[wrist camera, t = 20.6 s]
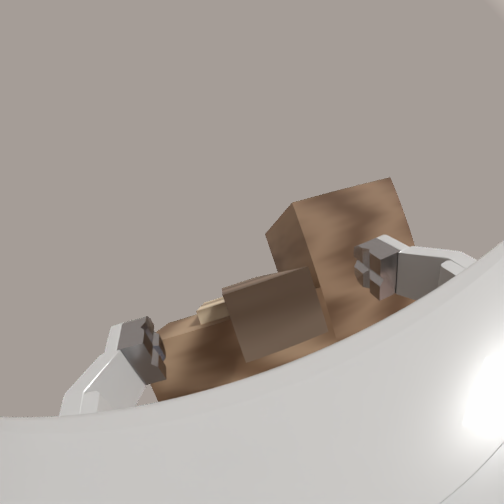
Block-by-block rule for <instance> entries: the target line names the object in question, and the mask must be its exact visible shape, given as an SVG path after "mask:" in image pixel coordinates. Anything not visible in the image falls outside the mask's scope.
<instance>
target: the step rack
mask: <svg viewBox="0 0 504 504" xmlns="http://www.w3.org/2000/svg"><path fill="white" fill-rule="evenodd" d="M265 235H266V238H267V241H268V244H269V247H270V250H271V253H272V256H273V259H274V262H275V265H276V268H277V271H278V273H279V272H283V271H288V270H293V269H297V268H302V267H306V266H308V267H309V270H310V273H311V277H312V280H313V283H314V286H315V289H316V292H317V295H318V299H319V302H320V305H321V308H322V312H323V315H324V318H325V322H326V325H327V328H328V332H326V333H324V334H322V335H319V336H317V337H314V338H312V339H310V340H307V341H305V342H302V343H300V344H297V345H294V346H292V347H289V348H287V349H284V350H281V351H279V352H276V353H273V354H270V355H268V356H265V357H262V358H259V359H256V360H253V361H250V362H247V363H246V361H245V358H244V356H243V353H242V350H241V347H240V344H239V342H238V339H237V336H236V333H235V330H234V327H233V325H232V322H231V319H230V316H227V317H224V318H221V319H218V320H214V321H211V322H208V323H205V324H202V325H201V323H200V321H199V318H198V315H194V316H190V317H187V318H184V319H180V320H177V321H174V322H170V323H168V324H167V325H166V326H164V327H163V328H161V329H160V330H158V331H157V332H156V333H158V334H159V335H160V337H161V339H162V341H163V344H164V347H165V351H166V358H165V360H164V361H163V362H164V364H165V365H166V378H167V380H163V381H159V382H156V383H152V384H151V386H152V389H153V391H154V393H155V395H156V397H157V400H158V402H160V401H165V400H169V399H173V398H178V397H182V396H186V395H190V394H194V393H197V392H201V391H205V390H208V389H212V388H215V387H219V386H222V385H225V384H229V383H232V382H235V381H238V380H241V379H244V378H247V377H250V376H253V375H256V374H259V373H262V372H265V371H268V370H270V369H273V368H276V367H279V366H281V365H284V364H286V363H289V362H292V361H294V360H297V359H299V358H302V357H304V356H307V355H309V354H311V353H314V352H316V351H318V350H321V349H323V348H325V347H328V346H330V345H332V344H334V343H336V342H339V341H341V340H343V339H345V338H347V337H349V336H351V335H353V334H355V333H357V332H359V331H362V330H364V329H366V328H368V327H369V326H371V325H373V324H375V323H377V322H379V321H381V320H383V319H385V318H387V317H389V316H390V315H392V314H394V313H396V312H398V311H399V310H401V309H403V308H405V307H406V306H408V305H410V304H412V303H413V302H415V301H416V300H413V299H410V298H407V297H404V296H401V295H398V294H396V293H395V294H393V295H391V296H389V297H387V298H384V299H382V300H380V301H379V300H378V299H377V298H375V297H374V296H373V295H372V294H371V293H370V288H365V287H362V286H361V285H360V284H359V282H358V281H357V279H356V276H355V272H354V266H355V264H356V261H357V260H356V259H355V258H354V254H353V251H354V247H355V246H357V245H360V244H362V243H365V242H367V241H370V240H372V239H374V238H377V237H379V236H381V235H388V236H390V237H392V238H394V239H396V240H398V241H399V242H401V243H403V244H405V245H407V246H409V247H411V246H415V245H414V242H413V238H412V235H411V232H410V229H409V226H408V223H407V220H406V217H405V214H404V212H403V209H402V206H401V203H400V201H399V198H398V195H397V193H396V190H395V188H394V185H393V183H392V181H391V178H386V179H382V180H377V181H373V182H370V183H365V184H362V185H357V186H353V187H350V188H345V189H341V190H337V191H334V192H330V193H326V194H322V195H319V196H315V197H311V198H307V199H304V200H300V201H296V202H293V203H291V205H290V206H289V207H288V208H287V209H286V210H285V212H284V213H283V214H282V215H281V216H280V217H279V219H278V220H277V221H276V222H275V223H274V224H273V226H272V227H271V228H270V229H269V230H268V231H267V233H266V234H265Z"/></svg>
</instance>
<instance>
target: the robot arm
mask: <svg viewBox="0 0 504 504" xmlns="http://www.w3.org/2000/svg"><path fill="white" fill-rule="evenodd" d="M353 254H354V258H355V259H356V260H357V261H356V264H355V266H354V272H355V276H356V279H357V281H358V282H359V284H360V285H361V286H362V287H365V288H370V293H371V294H372V295H373V296H374V297H375V298H377V299H378V300H379V301H380V300H382V299H384V298H387V297H389V296H391V295H393V294H395V293H396V294H398V295H401V296H404V297H407V298H410V299H413V300H416V301H415V302H413V303H412V304H410V305H408V306H406V307H405V308H403V309H401V310H399V311H398V312H396V313H394V314H392V315H390V316H389V317H387V318H385V319H383V320H381V321H379V322H377V323H375V324H373V325H371V326H369V327H368V328H366V329H364V330H362V331H359V332H357V333H355V334H353V335H351V336H349V337H347V338H345V339H343V340H341V341H339V342H336V343H334V344H332V345H330V346H328V347H325V348H323V349H321V350H318V351H316V352H314V353H311V354H309V355H307V356H304V357H302V358H299V359H297V360H294V361H292V362H289V363H286V364H284V365H281V366H279V367H276V368H273V369H270V370H268V371H265V372H262V373H259V374H256V375H253V376H250V377H247V378H244V379H241V380H238V381H235V382H232V383H229V384H225V385H222V386H219V387H215V388H212V389H208V390H205V391H201V392H197V393H194V394H190V395H186V396H182V397H178V398H173V399H169V400H165V401H160V402H156V403H151V404H146V405H141V406H136V404H137V402H138V400H139V398H140V396H141V394H142V393H143V391H144V389H145V387H146V385H148V384H152V383H156V382H159V381H163V380H167V378H166V365H165V364H164V362H163V361H164V360H165V358H166V351H165V347H164V344H163V341H162V339H161V337H160V335H159V334H158V333H156V332H154V325H153V323H152V321H151V319H150V318H149V317H148V316H146V317H143V318H139V319H135V320H132V321H128V322H124V323H120V324H117V325H114V326H112V327H111V329H110V332H109V336H108V340H107V344H106V348H105V352H104V354H101V355H100V356H99V357H98V358H97V359H96V360H95V361H94V363H92V364H91V366H90V367H89V368H88V369H87V370H86V371H85V372H84V373H83V374H82V376H81V377H80V378H79V379H78V380H77V381H76V382H75V383H74V384H73V386H72V387H71V388H70V389H69V390H68V391H67V392H66V394H65V395H64V398H63V402H62V406H61V410H60V414H59V416H51V417H0V504H504V240H503V241H502V242H500V243H499V244H498V245H497V246H495V247H494V248H493V249H492V250H490V251H489V252H488V253H486V254H485V255H484V256H483V257H481V258H480V259H479V260H476V259H474V258H472V257H470V256H468V255H467V254H464V253H463V252H461V251H453V250H444V249H436V248H427V247H417V246H411V247H409V246H407V245H405V244H403V243H401V242H399V241H398V240H396V239H394V238H392V237H390V236H388V235H381V236H379V237H377V238H374V239H372V240H370V241H367V242H365V243H362V244H360V245H357V246H355V247H354V251H353Z"/></svg>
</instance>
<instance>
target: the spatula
mask: <svg viewBox="0 0 504 504" xmlns="http://www.w3.org/2000/svg"><path fill="white" fill-rule="evenodd" d="M222 293H223V294H222V295H223V297H221V298H218V299H215V300H212V301H209V302H205V303H204V304H203V305H202V306H201V307H200V308H199V309H198V310H197V311H196V312H197V315H198V318H199V321H200V323H201V325H202V324H205V323H208V322H211V321H214V320H218V319H221V318H224V317H227V316H230V319H231V322H232V325H233V327H234V330H235V333H236V336H237V339H238V342H239V344H240V347H241V350H242V353H243V356H244V358H245V361H246V363H247V362H250V361H253V360H256V359H259V358H262V357H265V356H268V355H270V354H273V353H276V352H279V351H281V350H284V349H287V348H289V347H292V346H294V345H297V344H300V343H302V342H305V341H307V340H310V339H312V338H314V337H317V336H319V335H322V334H324V333H326V332H328V328H327V325H326V322H325V318H324V315H323V312H322V308H321V305H320V302H319V299H318V295H317V292H316V289H315V286H314V283H313V280H312V277H311V273H310V270H309V267H308V266H306V267H302V268H297V269H293V270H288V271H283V272H279V273H274V274H269V275H264V276H260V277H255V278H252V279H249V280H246V281H243V282H240V283H237V284H234V285H231V286H228V287H225V288H222Z"/></svg>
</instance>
